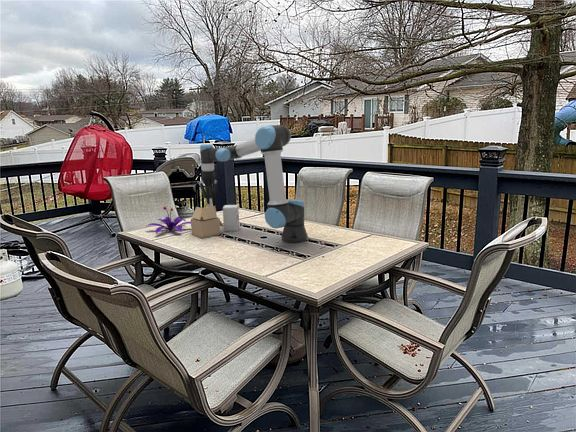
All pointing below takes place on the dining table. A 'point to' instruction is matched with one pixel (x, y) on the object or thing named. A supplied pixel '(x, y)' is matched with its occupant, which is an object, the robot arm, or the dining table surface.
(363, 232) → the dining table surface
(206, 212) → the flap near
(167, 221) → the decorative flower
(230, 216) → the supplement box
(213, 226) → the carton
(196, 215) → the flap left
